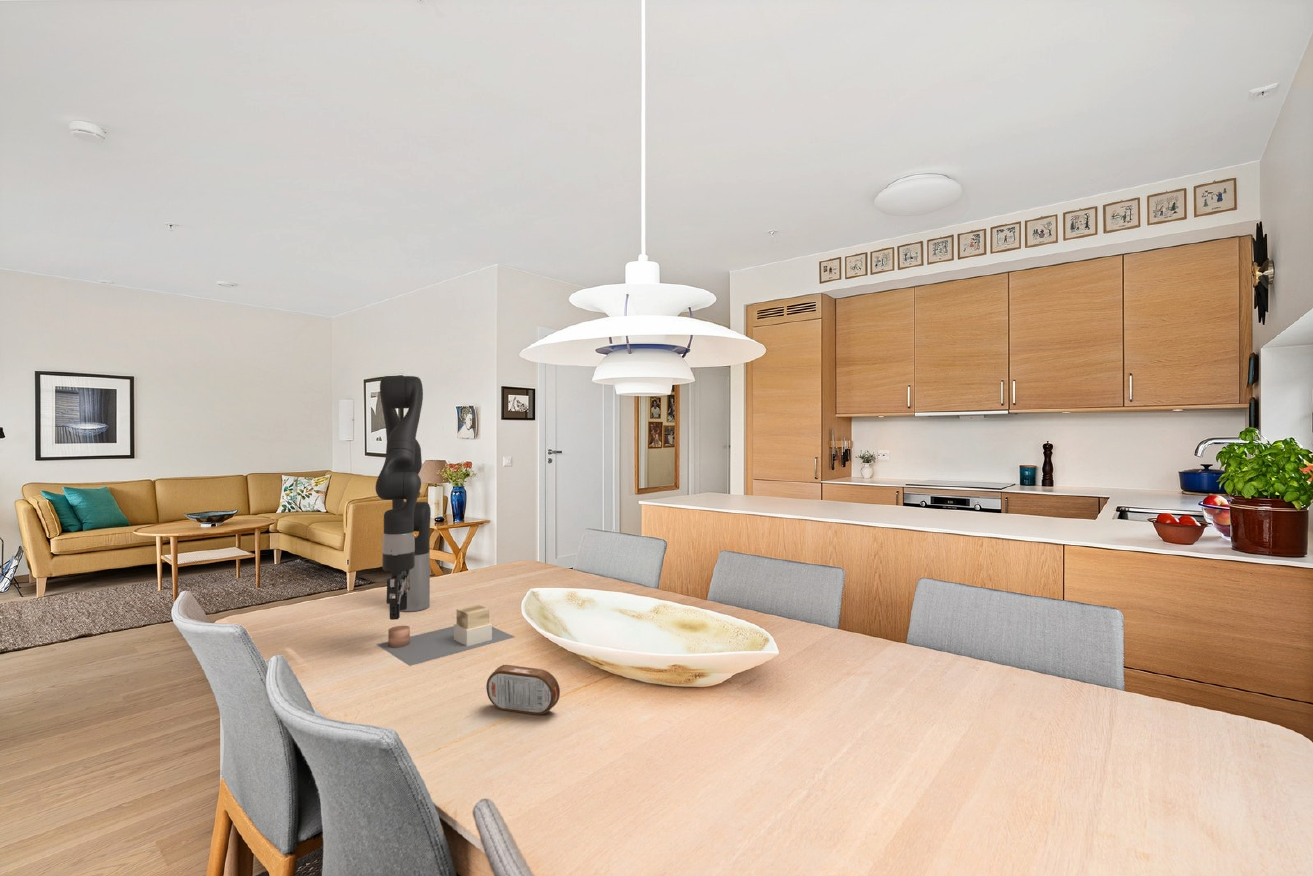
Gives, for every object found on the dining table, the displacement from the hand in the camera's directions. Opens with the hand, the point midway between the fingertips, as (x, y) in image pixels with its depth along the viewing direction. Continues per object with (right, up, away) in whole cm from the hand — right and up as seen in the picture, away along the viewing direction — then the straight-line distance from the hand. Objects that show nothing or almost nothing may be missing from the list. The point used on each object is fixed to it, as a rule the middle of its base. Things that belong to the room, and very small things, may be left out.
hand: (398, 614), depth 152 cm
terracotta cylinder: (0, -8, 0) cm, 8 cm away
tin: (+39, -9, -34) cm, 53 cm away
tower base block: (+18, -8, +4) cm, 20 cm away
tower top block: (+18, -4, +4) cm, 19 cm away
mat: (+11, -9, +3) cm, 15 cm away
